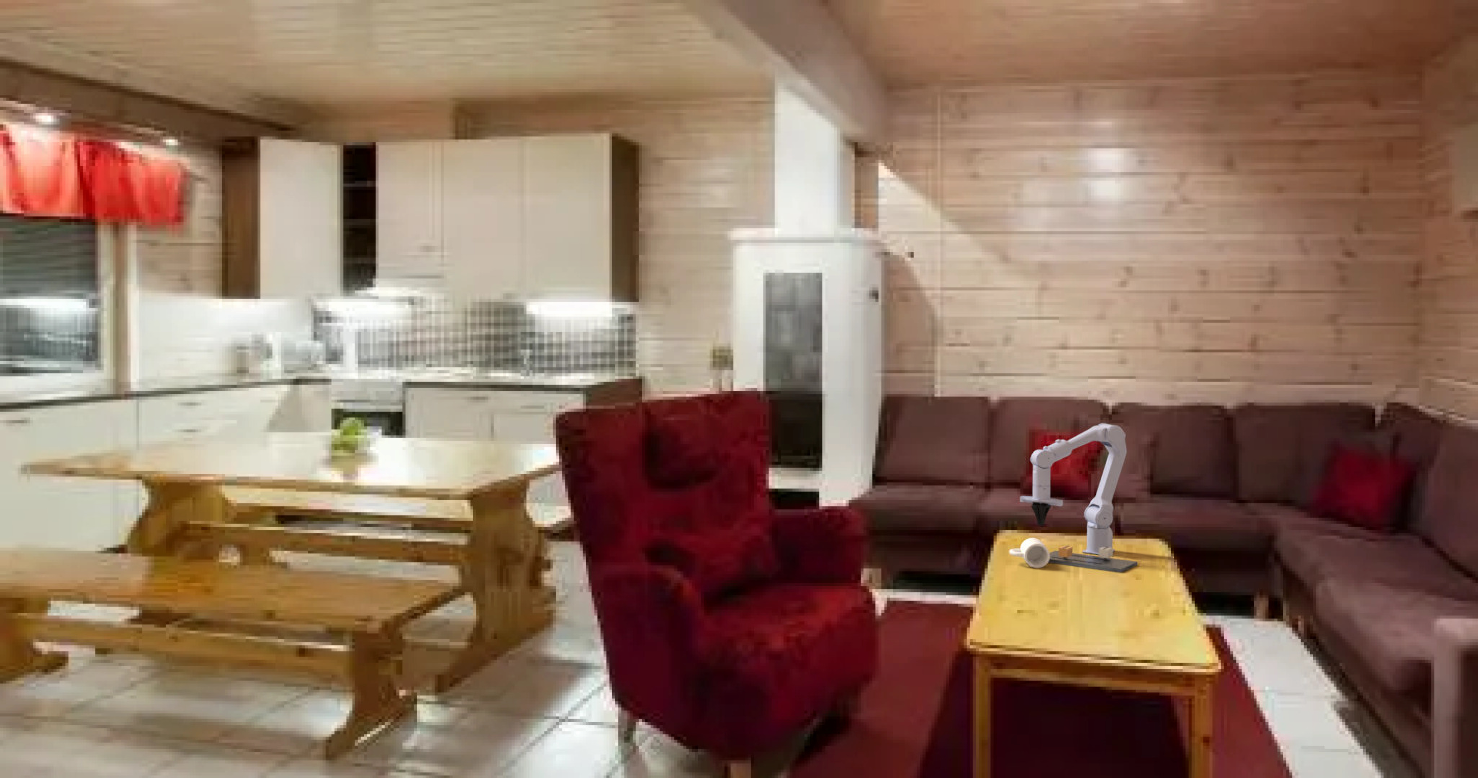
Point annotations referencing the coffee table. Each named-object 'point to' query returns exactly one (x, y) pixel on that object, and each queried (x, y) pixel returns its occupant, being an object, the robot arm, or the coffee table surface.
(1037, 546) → the mug
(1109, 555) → the cream fader
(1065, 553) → the orange fader
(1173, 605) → the coffee table surface
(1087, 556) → the mixer board
